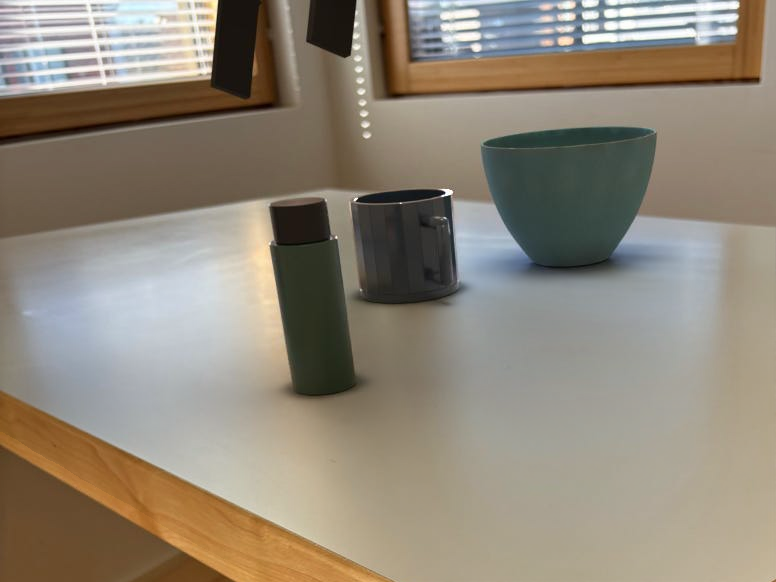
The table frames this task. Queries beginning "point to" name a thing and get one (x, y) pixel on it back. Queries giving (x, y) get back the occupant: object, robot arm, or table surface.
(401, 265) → the mug
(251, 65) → the robot arm
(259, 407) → the table surface
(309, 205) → the flask
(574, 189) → the green bowl
